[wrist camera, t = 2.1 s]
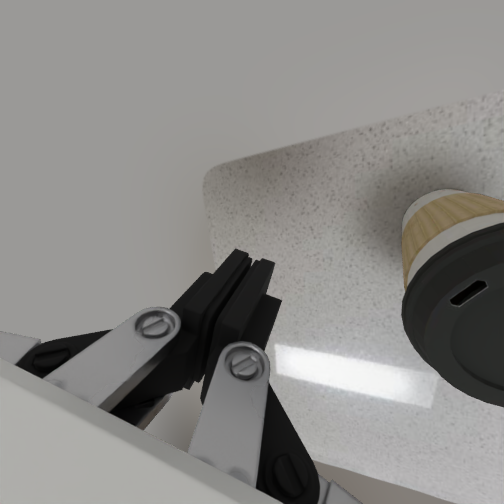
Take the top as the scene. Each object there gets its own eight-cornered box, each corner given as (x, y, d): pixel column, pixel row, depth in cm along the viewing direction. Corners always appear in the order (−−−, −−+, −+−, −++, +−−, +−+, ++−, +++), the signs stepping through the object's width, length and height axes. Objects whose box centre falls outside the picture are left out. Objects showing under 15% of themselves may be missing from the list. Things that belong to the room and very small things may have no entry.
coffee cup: (440, 289, 27) (522, 448, 14) (357, 233, 27) (362, 338, 14) (544, 211, 21) (828, 349, 9) (440, 142, 22) (567, 178, 9)
